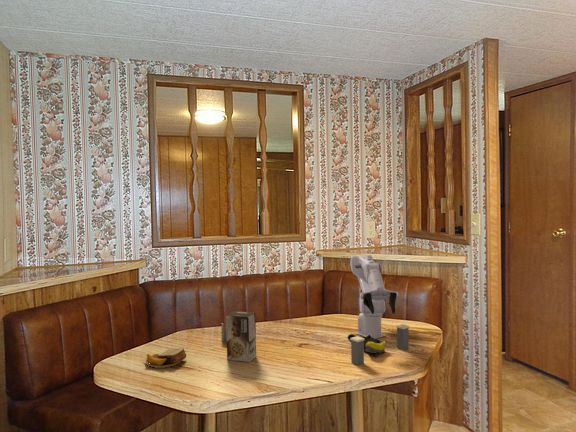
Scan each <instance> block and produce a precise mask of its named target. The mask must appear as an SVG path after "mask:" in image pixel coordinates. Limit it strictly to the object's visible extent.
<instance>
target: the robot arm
mask: <svg viewBox="0 0 576 432" xmlns="http://www.w3.org/2000/svg"><path fill="white" fill-rule="evenodd" d="M349 262H350V263H349V264H350V270H351V273H352V274H353V275H354V276H356V278H357V281H358V283H359V286H360V289H361V292H360V293H359V299H358V304H359V311H360V313H359V314H358V317H357V332H356V335H358V336H361V337H365V336H367V335H371V336H372V338H375V339H379V338H382V337H383V338H384V337H386V335H387V334H385V333H382V316H383V314H385V311H386V301H385V300H387V299H388V302H389V303H388V305H389V307H390V310H391V312H392V313H391V314H395V313H396V301H397V300H398V299H399V298H400V294H399V291H393V290H389V289H387V288H385V287H386V286H385V284H384V280H383V277H382V276H383V275H382V265H381V263H380V262H377V263H376V262H375V261H374V260H373V256H372V255H371V254H369V255H368V254H366V255H363V254H362V255H361V254H360V255H357V254H356V255H353V254H352V255H350V258H349Z"/></svg>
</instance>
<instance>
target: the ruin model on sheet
mask: <svg viewBox="0 0 576 432" xmlns="http://www.w3.org/2000/svg"><path fill="white" fill-rule="evenodd" d="M220 325H221V342H222V343H227V334H226V323H223V322H221V324H220Z"/></svg>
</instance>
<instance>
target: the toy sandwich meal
mask: <svg viewBox="0 0 576 432" xmlns="http://www.w3.org/2000/svg"><path fill="white" fill-rule="evenodd" d="M186 358H187V353H186V351H185V348H184V347H180V348H179V347H178V348H168V349H166V350H165V351H163V352H162V353H160V354H158V353H156V354H153V355H152V354H151V355H150V354H149V353H148V354H146V360H145V364H146V365H147V366H148V367H149V366H151V367H150V368H152V367H156V368H155V369H166V368H165V367H168V368H171V367H170V366H172V367H175V366H177V365H179V364H180V363H181V362H182V361H184V360H185V359H186ZM149 363H150V364H149ZM178 363H179V364H178ZM176 364H177V365H176ZM174 365H175V366H174Z"/></svg>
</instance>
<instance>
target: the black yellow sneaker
mask: <svg viewBox="0 0 576 432" xmlns="http://www.w3.org/2000/svg"><path fill="white" fill-rule="evenodd" d="M356 336H359V337H362V338H365V340H364V351H365V352H366V353H370V354H378V355H379V354H383V352H385V351H386V343H387V342H386V341H385V340H383V341H380V339H378V338H376V339H375V338H372V336H371V335H367V336H365V337H364V336H361V335H358V334H357V333H356V334H355V333H349V332H348V334H347V338H346V339H347V340H348V341H349V343H351V340H350V338H352V337H356Z"/></svg>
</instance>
